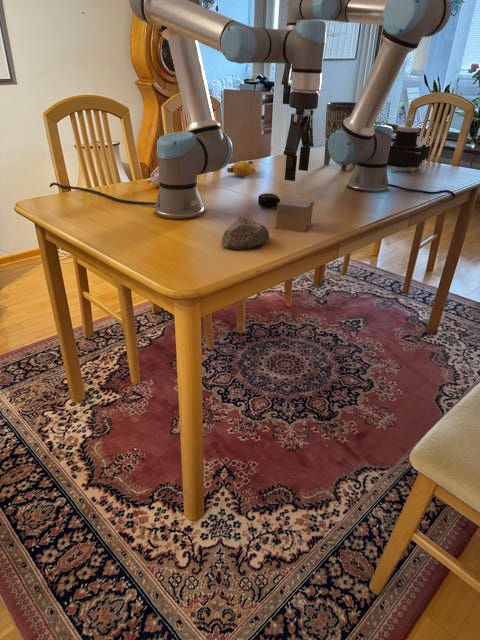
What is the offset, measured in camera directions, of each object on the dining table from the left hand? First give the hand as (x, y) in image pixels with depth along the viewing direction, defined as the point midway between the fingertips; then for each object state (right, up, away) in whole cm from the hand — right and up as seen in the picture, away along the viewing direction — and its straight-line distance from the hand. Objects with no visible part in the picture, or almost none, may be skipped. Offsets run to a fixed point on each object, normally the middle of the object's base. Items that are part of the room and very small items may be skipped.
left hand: (296, 175), depth 128 cm
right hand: (+4, +45, +51) cm, 68 cm away
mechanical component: (+61, +30, +83) cm, 107 cm away
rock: (-14, -21, -7) cm, 26 cm away
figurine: (-45, +10, +45) cm, 65 cm away
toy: (-15, +21, +64) cm, 69 cm away
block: (0, -13, +7) cm, 15 cm away
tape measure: (-6, -4, +23) cm, 24 cm away
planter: (+31, +30, +82) cm, 93 cm away
